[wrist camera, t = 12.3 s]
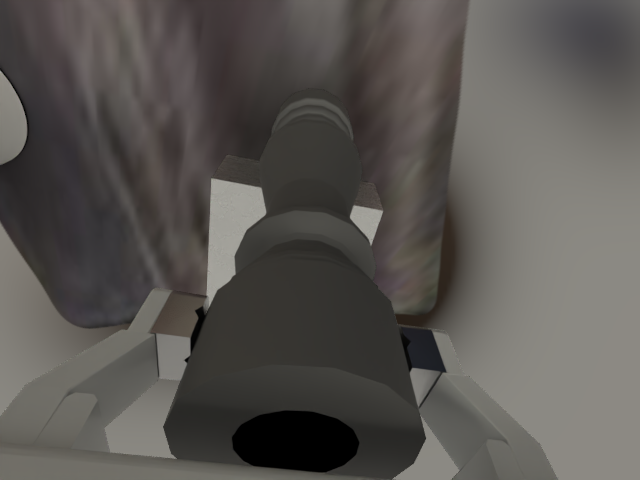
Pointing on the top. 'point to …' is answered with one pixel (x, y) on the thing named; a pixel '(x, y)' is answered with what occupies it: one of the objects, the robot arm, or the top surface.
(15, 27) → the top surface
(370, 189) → the sleeve block
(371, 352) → the candle holder
